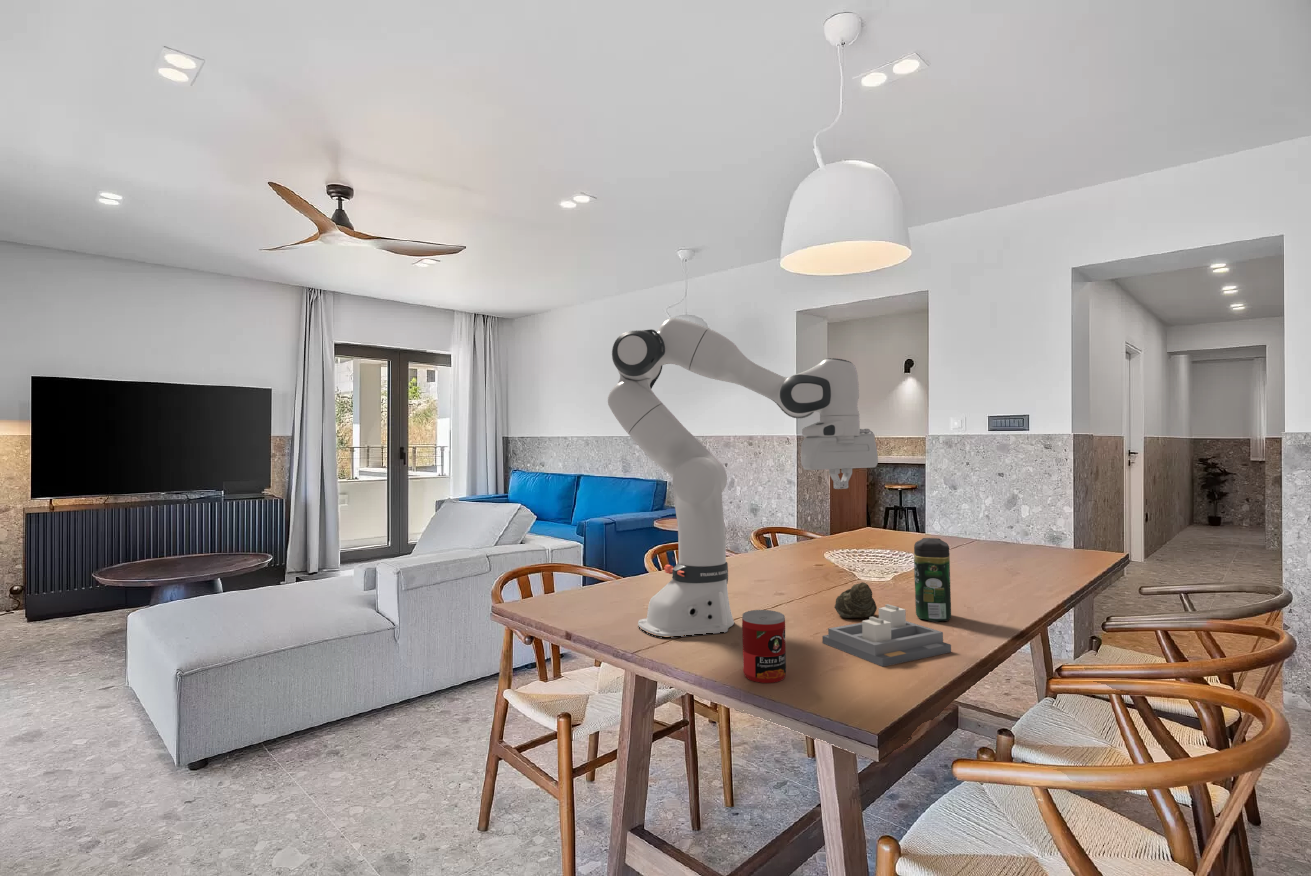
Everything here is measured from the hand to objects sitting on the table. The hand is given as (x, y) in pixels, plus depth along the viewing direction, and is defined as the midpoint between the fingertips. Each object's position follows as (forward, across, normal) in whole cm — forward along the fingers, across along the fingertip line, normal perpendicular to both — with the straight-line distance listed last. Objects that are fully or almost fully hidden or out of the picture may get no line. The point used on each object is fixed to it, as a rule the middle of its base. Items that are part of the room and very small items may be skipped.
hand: (841, 488), depth 155 cm
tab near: (+30, +10, +21) cm, 38 cm away
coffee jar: (+31, -22, +6) cm, 39 cm away
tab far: (+30, 0, +15) cm, 33 cm away
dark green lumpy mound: (+31, -8, -5) cm, 33 cm away
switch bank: (+31, +5, +18) cm, 36 cm away
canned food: (+31, +36, +20) cm, 52 cm away
